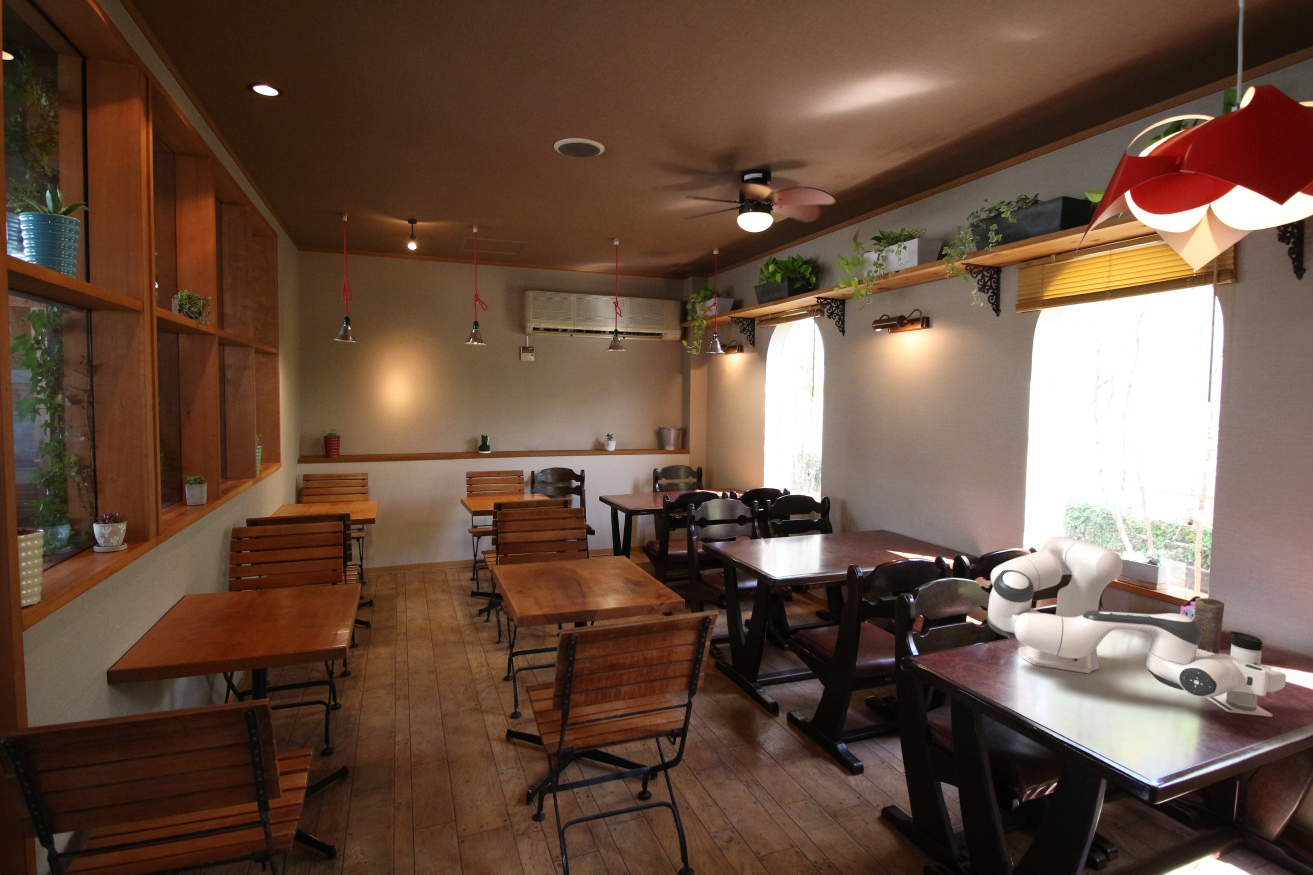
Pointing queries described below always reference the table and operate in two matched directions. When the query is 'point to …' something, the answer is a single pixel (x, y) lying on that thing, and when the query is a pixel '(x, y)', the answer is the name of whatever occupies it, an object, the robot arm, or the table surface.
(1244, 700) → the travel mug
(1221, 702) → the mat
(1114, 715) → the table surface
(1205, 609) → the candle
